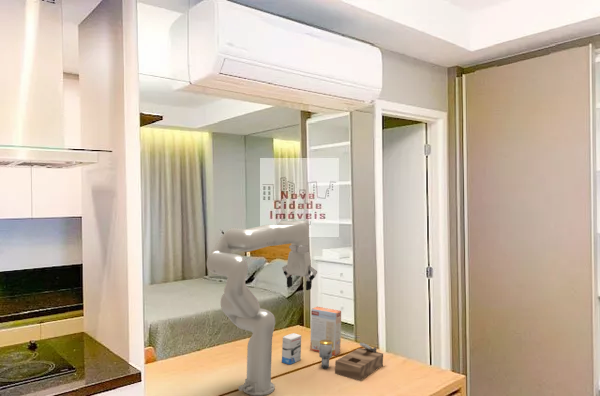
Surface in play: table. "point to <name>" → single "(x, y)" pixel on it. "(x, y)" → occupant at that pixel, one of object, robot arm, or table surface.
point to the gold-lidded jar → (325, 352)
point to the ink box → (291, 348)
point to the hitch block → (359, 363)
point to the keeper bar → (366, 346)
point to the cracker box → (325, 328)
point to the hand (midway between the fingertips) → (298, 288)
